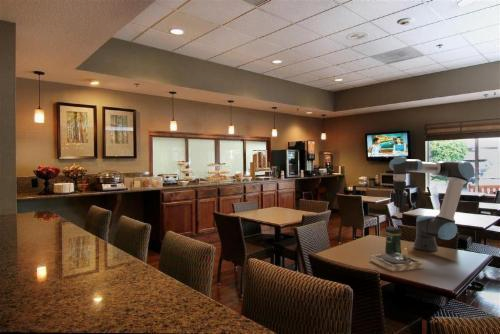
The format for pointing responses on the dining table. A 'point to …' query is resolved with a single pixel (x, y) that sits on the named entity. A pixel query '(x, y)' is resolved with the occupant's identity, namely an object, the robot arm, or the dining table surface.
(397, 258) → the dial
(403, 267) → the square tray
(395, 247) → the coffee jar
